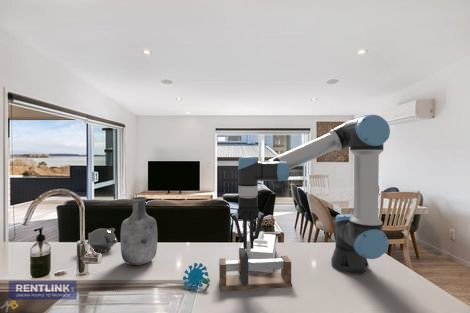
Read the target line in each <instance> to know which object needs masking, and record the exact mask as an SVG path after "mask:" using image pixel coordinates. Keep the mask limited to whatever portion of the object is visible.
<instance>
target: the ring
mask: <svg viewBox="0 0 470 313" xmlns="http://www.w3.org/2000/svg"><path fill="white" fill-rule="evenodd" d="M238 259H241V272H239V271H238V273H239V274H238V275H240V278H241V282H242V284H248V274H249V271H248V255H247V252H246V249H244V248H241V247H239V248H238Z"/></svg>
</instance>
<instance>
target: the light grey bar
mask: <svg viewBox="0 0 470 313" xmlns="http://www.w3.org/2000/svg"><path fill="white" fill-rule="evenodd" d="M272 269H273V270H281V269H284V260H283V259H282V258H281V257H279V258H275V259H251V260H248V272H249V271H250V270H272ZM228 272H238V273H239V272H241V259H239V258H238V259H232V260H227V259H226V273H228ZM250 272H251V271H250Z"/></svg>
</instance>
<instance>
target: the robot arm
mask: <svg viewBox="0 0 470 313" xmlns="http://www.w3.org/2000/svg"><path fill="white" fill-rule="evenodd" d="M390 128H391V127H390V126H389V123H388V121H387V120H385V118H383V117H382V116H380V115H377V114H366V115H362V116H359V117H356V118H352V119H349V120H347V121H345V122H344V123H342V124H340V125H339V126H337V127H334V128H333V129H330V130H329V131H328V133H326V134H324V135H322V136H319V137H318V138H316V139H313V140H311V141H308V142H306V143H304V144H301V145H299V146H297V147H295V148H293V149H290V150H288V151H285V152H284V153H280V154H279V155H276V156H275V157H272V158H270V159H266V160H262V161H259V159H258V157H257V156H241V157H239V158H238V163H237V164H238V165H237V166H238V167H237V172H238V175H237V177H238V178H237V179H238V180H237V181H238V183H237V184H238V185H237V186H238V187H237V188H238V200H237V202H238V203H237V204H238V205H237V206H238V207H237V209H236V212H235V213H232V214H231V217H232V220H233V221H234V224H235V228H236V232H237V237H238V240H240V241H242V244H243V247H244V249H246V252H247V255H248V258H251V249H253V241H254V240H255V239H258V236H259V233H260V232H261V228H262V222H263V220H264V218H265V214H264V213H263V212H261V211H260V209H259V208H258V207H259V205H258V204H259V203H258V202H259V198H258V194H259V192H258V190H259V186H258V185H259V183H258V182H286V181H287V180H289V178H290V170H291V169H294V168H296V167H298V166H301V165H303V164H305V163H308V162H310V161H312V160H315V159H317V158H319V157H321V156H324V155H326V154H328V153H331V152H333V151H335V150H336V151H341V150H344V149H347V148H349V151H350V152H351V153H352V154H353V156H354V157H353V214H352V213H342V214H341V213H339V214H337V215H336V216H335V221H334V223H335V229H334V230H335V236H334V237H335V238H334V239H335V247H334V250H333V253H332V257H331V260H330V261H331V263H330V264H331V266H332V267H333V268H334V269H335V270H337V271H340V272H343V273H346V274H351V275H363V274H366V273H367V272H369V268H370V266H369V262H368V260H375V259H378V258H381V257H382V256H383V255H384V254H385V253H387V251H388V248H389V243H390V241H389V239H388V237H387V234H386V233H385V232H383V230H384V228H383V225H384V224H383V223H384V222H383V221H382V220H381V219H380V218H379V170H380V168H379V167H380V166H379V164H380V163H379V162H380V160H379V158H380V154H381V153H383V152H384V144H385V143H386V142H387V140H388V139H389V138H390V135H391V129H390ZM239 217H240V218H241V220H242V231H241V228H240V224H239ZM256 218H257V221H256V225H255V230H254V222H255V219H256ZM248 221H249V233H250V239H247V234H248Z"/></svg>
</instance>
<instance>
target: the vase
mask: <svg viewBox="0 0 470 313" xmlns="http://www.w3.org/2000/svg"><path fill="white" fill-rule="evenodd" d="M147 199H148V197H146V196H136V197H135V196H134V197H131V199H130V202H132V203H131V204H132V212H131V214H130V216H129V217H127V218H125V219H124V220H123V221H122V223H121V225H120V252H121V257H122V260H123V262H124V263H126V264H128V265H132V266H139V265H140V266H141V265H144V264H147V263H149V262H151V261H152V260H154V258H155V256H156V255H157V250H158V223H157V220H156V218H154V217H153V216H150V215H149V214H148V213H147V211H146V201H147Z"/></svg>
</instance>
